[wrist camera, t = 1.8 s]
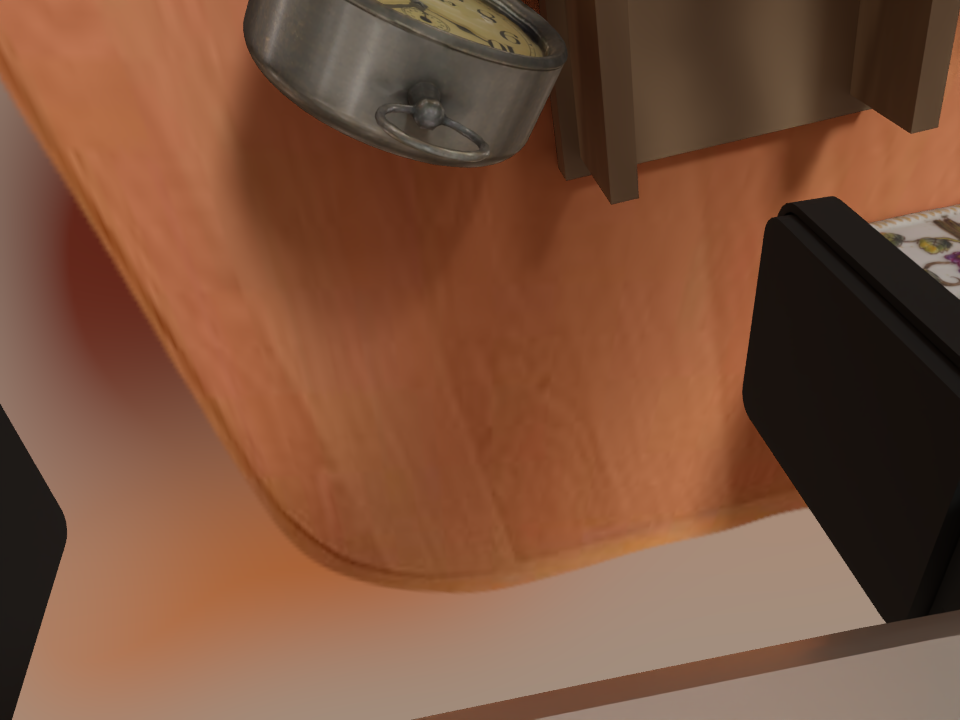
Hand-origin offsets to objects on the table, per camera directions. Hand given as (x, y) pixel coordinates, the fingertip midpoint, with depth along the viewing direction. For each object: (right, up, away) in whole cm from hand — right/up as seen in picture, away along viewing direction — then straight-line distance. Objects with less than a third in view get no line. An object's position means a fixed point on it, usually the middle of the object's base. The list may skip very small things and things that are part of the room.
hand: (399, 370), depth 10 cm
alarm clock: (-3, +15, +25) cm, 29 cm away
